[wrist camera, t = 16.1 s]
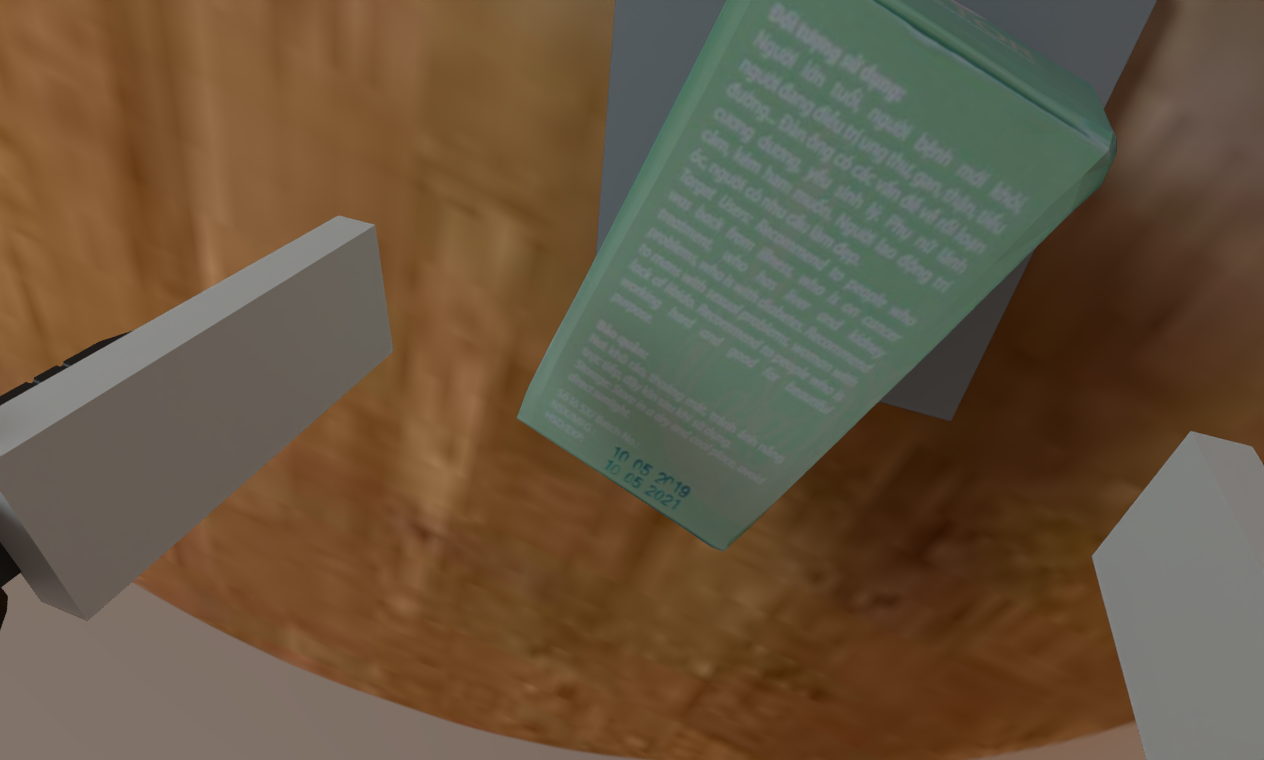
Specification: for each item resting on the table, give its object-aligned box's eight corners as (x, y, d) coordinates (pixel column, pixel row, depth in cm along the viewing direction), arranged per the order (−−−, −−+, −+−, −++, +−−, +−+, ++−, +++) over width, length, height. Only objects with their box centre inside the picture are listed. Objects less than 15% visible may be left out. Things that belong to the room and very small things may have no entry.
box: (1075, 64, 17) (1155, 147, 11) (772, 412, 25) (725, 563, 19) (820, -98, 17) (763, -103, 11) (603, 305, 25) (505, 424, 19)
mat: (632, -98, 19) (622, -98, 18) (1159, -28, 16) (1168, -25, 15) (598, 313, 26) (590, 323, 26) (949, 407, 24) (950, 421, 23)
